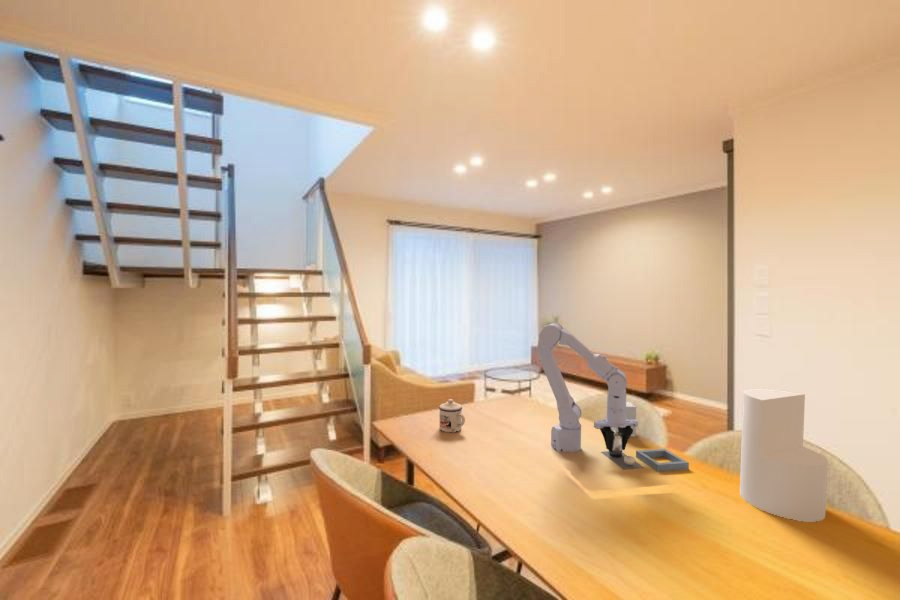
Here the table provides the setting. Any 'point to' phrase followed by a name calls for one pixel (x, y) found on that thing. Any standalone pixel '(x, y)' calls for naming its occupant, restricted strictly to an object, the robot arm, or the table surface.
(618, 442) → the battery cell
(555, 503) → the table surface
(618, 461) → the base
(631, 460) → the test button
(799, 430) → the white stepped block
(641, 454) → the bin
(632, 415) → the supplement box
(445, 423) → the teacup with lid
